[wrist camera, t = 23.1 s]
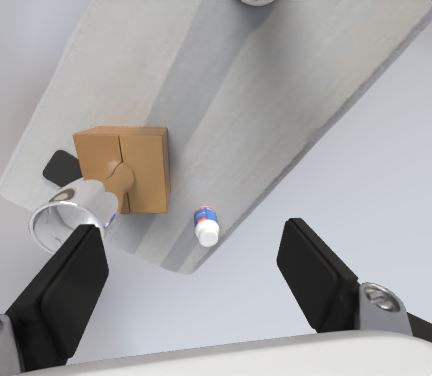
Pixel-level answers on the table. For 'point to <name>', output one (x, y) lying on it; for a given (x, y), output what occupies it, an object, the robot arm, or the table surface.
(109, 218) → the beer glass
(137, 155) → the flap
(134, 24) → the table surface
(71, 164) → the phone
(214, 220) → the pill bottle
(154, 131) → the carton
